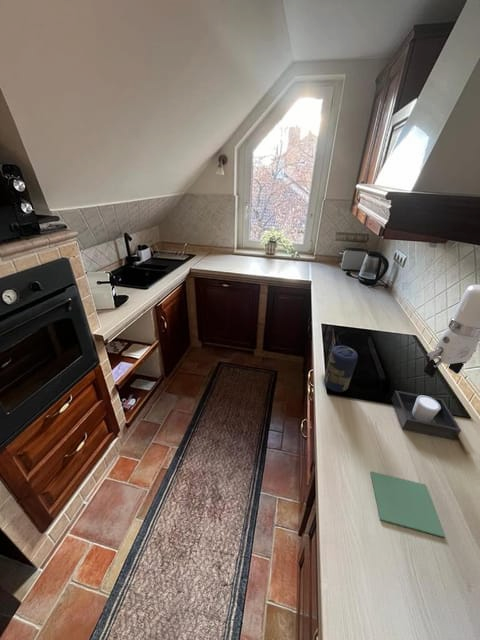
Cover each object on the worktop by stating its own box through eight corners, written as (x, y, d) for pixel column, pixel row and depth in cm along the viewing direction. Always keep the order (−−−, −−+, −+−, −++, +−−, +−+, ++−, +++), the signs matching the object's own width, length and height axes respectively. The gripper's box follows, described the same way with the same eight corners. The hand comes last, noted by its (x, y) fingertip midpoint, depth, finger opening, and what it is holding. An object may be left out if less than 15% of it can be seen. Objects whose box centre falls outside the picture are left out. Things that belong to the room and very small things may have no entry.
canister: (321, 376, 107) (330, 340, 98) (344, 378, 106) (355, 343, 97) (325, 392, 99) (334, 355, 90) (350, 395, 98) (362, 358, 89)
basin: (436, 408, 93) (442, 398, 91) (454, 440, 82) (461, 430, 80) (391, 399, 97) (395, 390, 94) (401, 429, 85) (406, 419, 83)
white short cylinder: (405, 412, 90) (412, 398, 87) (418, 406, 93) (425, 392, 89) (424, 427, 85) (432, 413, 81) (437, 421, 87) (445, 406, 84)
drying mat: (424, 485, 69) (425, 484, 69) (444, 538, 59) (445, 537, 59) (370, 472, 72) (370, 471, 72) (379, 520, 62) (380, 519, 62)
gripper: (453, 337, 69) (428, 384, 77) (502, 331, 72) (473, 377, 80) (429, 323, 75) (409, 368, 83) (475, 318, 78) (451, 362, 87)
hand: (440, 372), depth 82 cm, fingers open, 9 cm apart
